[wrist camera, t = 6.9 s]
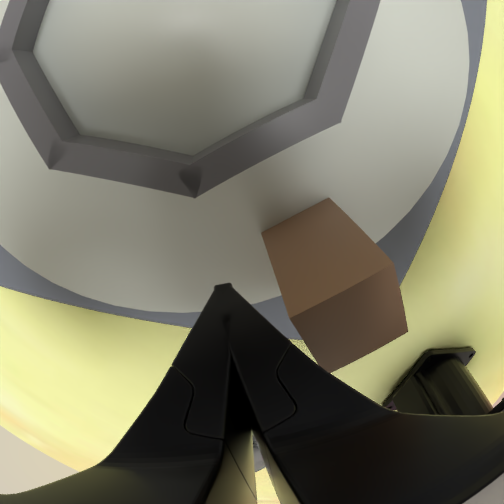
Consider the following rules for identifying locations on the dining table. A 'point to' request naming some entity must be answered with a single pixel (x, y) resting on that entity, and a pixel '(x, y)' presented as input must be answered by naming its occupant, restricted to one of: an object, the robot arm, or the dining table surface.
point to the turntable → (227, 151)
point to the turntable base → (392, 244)
